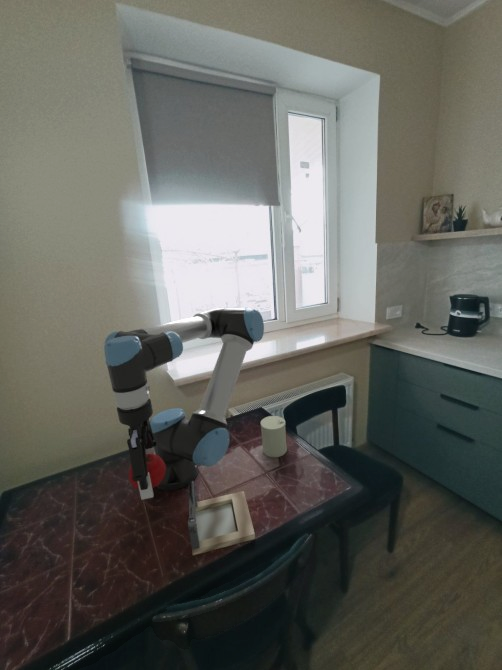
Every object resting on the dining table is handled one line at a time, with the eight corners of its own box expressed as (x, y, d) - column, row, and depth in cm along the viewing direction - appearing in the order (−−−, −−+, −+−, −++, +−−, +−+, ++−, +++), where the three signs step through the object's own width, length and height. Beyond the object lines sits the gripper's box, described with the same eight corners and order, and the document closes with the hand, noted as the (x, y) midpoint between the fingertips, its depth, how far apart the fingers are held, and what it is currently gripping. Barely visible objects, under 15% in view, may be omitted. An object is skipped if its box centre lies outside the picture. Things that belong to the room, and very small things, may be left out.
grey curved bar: (192, 555, 71) (187, 524, 69) (191, 501, 87) (187, 475, 85) (199, 553, 72) (194, 522, 69) (197, 500, 88) (193, 473, 85)
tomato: (165, 494, 71) (160, 466, 68) (127, 500, 70) (120, 472, 67) (169, 469, 79) (165, 443, 77) (136, 474, 78) (130, 448, 76)
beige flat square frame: (192, 555, 73) (191, 550, 72) (191, 507, 87) (190, 503, 87) (255, 538, 76) (254, 533, 75) (244, 495, 90) (243, 490, 90)
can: (288, 456, 106) (286, 427, 103) (262, 458, 106) (260, 429, 103) (285, 441, 115) (284, 413, 112) (262, 442, 115) (260, 415, 112)
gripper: (143, 423, 59) (161, 514, 65) (155, 381, 79) (168, 453, 85) (103, 430, 57) (125, 522, 63) (126, 386, 78) (141, 458, 84)
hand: (150, 482), depth 74 cm, fingers closed on tomato, 9 cm apart
